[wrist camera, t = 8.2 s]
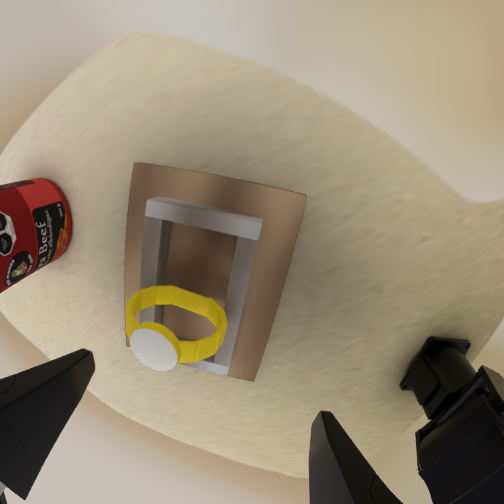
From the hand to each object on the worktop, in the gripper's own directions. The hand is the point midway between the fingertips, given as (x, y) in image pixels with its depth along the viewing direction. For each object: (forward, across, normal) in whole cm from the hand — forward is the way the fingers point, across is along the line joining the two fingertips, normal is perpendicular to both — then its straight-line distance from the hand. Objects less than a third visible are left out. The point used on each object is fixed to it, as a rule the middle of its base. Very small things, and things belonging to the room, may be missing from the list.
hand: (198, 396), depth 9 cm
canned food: (+12, +19, -1) cm, 22 cm away
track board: (+12, +3, +1) cm, 12 cm away
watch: (+9, +3, +2) cm, 10 cm away
